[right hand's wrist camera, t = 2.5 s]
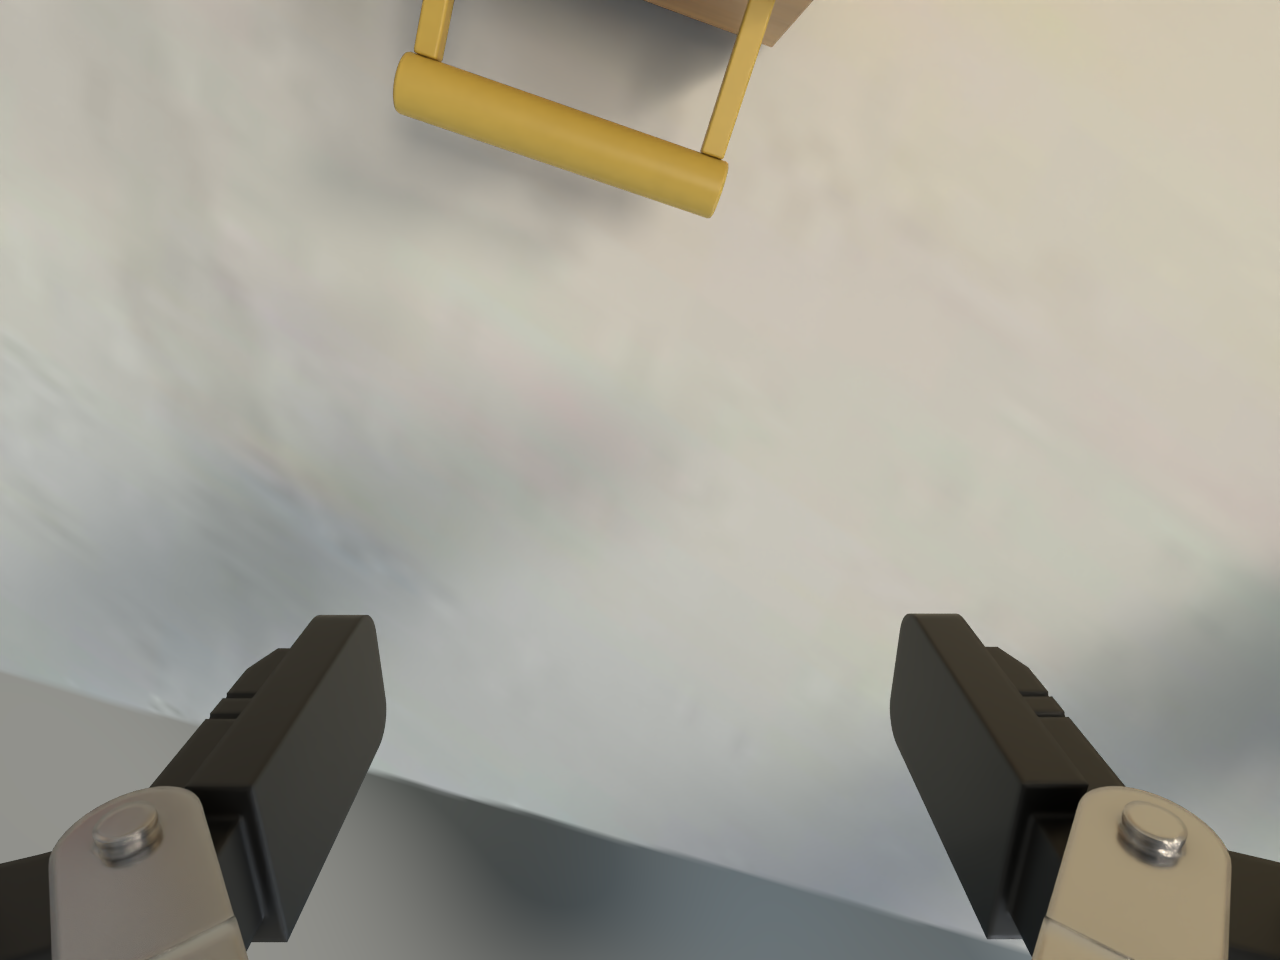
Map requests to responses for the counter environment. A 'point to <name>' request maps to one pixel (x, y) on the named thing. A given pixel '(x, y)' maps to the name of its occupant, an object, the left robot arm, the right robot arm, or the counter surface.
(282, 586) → the counter surface
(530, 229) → the counter surface
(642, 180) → the drawer
